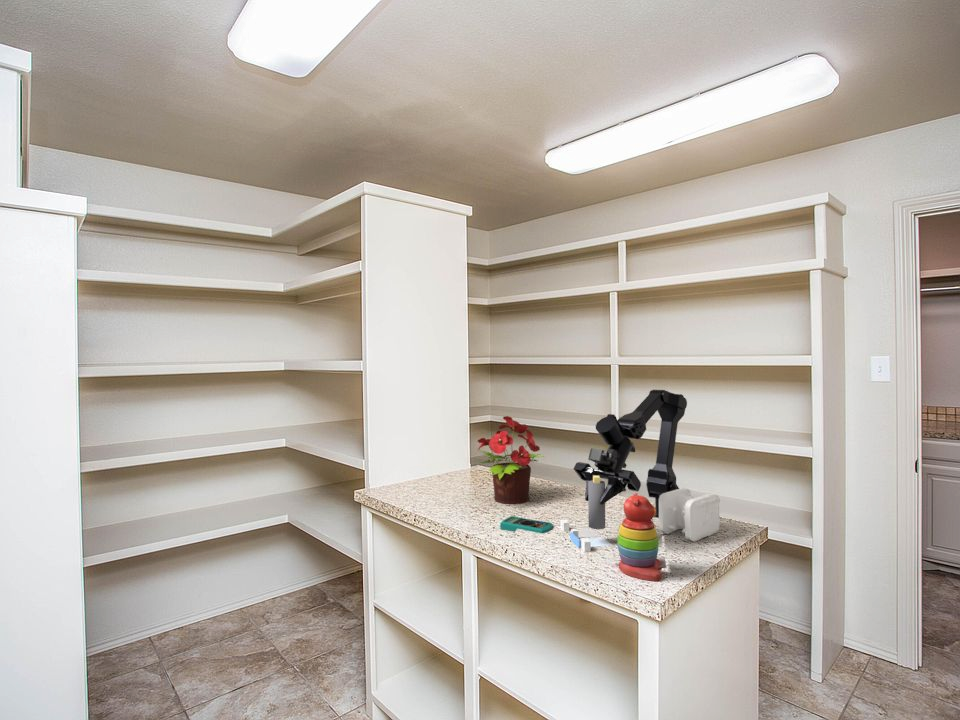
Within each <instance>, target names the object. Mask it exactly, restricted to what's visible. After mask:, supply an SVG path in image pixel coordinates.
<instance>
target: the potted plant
mask: <svg viewBox="0 0 960 720" xmlns="http://www.w3.org/2000/svg"><path fill="white" fill-rule="evenodd" d="M502 419H503V420H504V421H505V424H501V425H500V426H498V429H499V430H497V431H496V432H495V434H494V435H493V436H492V437H491V438H489V439H488V438H485V437H482V438H480V439H477V442H478V443H479V444H480V445H479V446H478V448H477V452H480V449H481V448H482V447H486V446H488V447H489V449H490V451H491V452H487V451H484V450H481V453H483V455H485V456H483V457H484V458H485V457H486V458H487V457H488V459H487V460H485V461H482V462H478V463H475V464H474V466H476V465H479V464H483V465H484V464H487V463H488V464H492V463H493V464H494V463H496V464H494V465H493V466H491V468H489V469H488V472H490V474H492V482H493V493H494V496H493V498H494V499H493V500H494V501H495V502H496V503H499V504H505V505H519V504H524V503H527V502H529V501H530V484H531V472H532V468H531V466H530V465H529V464H530V463H531V462H532V463H534V462H538V461H539V459H535V458H540V457H542V458H547V457H546V456H545V455H544V456H543V455H542V454H541V453H539V454H538V453H537V454H535V453H536V452H538V451H540V450H541V449H540V446H539V445H537V444H536V441H535V440H534V438H533V433H532V431H531V430H529V429H527V428H528V426H527V425H526V424H521V423H519V422H518V421H517V420H514V419H513V417H511V416H508V415H507V416H503V417H502ZM506 428H509V429H510V430H511V431H512V434H514V432H515V433H517V437H519V438H521V439H523V440H525V443H526V446H525V445H520V446H518V450H517V449H514V450H512V451H511V453H510V454H509V452H508V450H507V447H508V446H511V448H513V444H514V436H512V435H511V436H510V435H509V433H508V431H506V430H503V429H506ZM524 433H526V437H525V436H524V435H523V434H524ZM527 447H528V448H529V450H530V451H532V452H535V453H530V452H529V451H528V450H527V449H526V448H527ZM503 453H504V455H501V454H503ZM506 453H507V454H506ZM494 454H497V455H494ZM499 454H500V455H499ZM502 461H504V462H502Z"/></svg>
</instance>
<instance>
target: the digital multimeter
mask: <svg viewBox="0 0 960 720" xmlns="http://www.w3.org/2000/svg"><path fill="white" fill-rule="evenodd" d="M499 527H500V530H503V531H509V532H514V533H515V532H517V530H522V531H529V532H533V533H538V534H545V533H547V532H550V531H551V530H552V529H553V527H554V524H553V523H551V522H549V521H542V520H537V519H530V518H524V517H519V516H515V515H510V516H509V517H507V518H505V519H504V520H501V522H500V523H499Z"/></svg>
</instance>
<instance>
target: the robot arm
mask: <svg viewBox="0 0 960 720" xmlns="http://www.w3.org/2000/svg"><path fill="white" fill-rule="evenodd" d="M687 406H688V401H687V398H686V397H684V395H683V394H682V393H681V394H679V393H673V392H670V391H668V390H666V389H651V390H650V391H649V393H648V395H647V396H646V397H645V398H644V399H643V400H642V401H641V402H640V404H639V405H638V406H637V407H636V408H635V409H634V410H633V411H632V412H630V413H626V414H623V415H622V416H621V417H619V418H618V419H617V416H616V414H612V413H609V414H607V416H606V417H602V418H601V419H599V421H597V422H596V424H595V430H596V431H597V433H598V434H599V436H600V437H601V439H602V441H604V443H605V444H606V445H608V448H607V449H606V450H604V449H600V448H599V449H597V448H590V451H589V455H588V461H591V462H594V467H595V468H597V469H595V468H593V467H592V465H590V463H588V462H580V461H579V462H576V463H575V464H574V467H573V468H572V469H573V470H574V472H575V473H576V474H577V476H578V477H579V478H580V479H581V480H582V481H584V482H585V485H586V486H585V495H584V499H585V501H586V502H588V481H592V480H593V476H599V477H600V479H604V480H607V484H606V486H605V491H604V493H603V495H602V497H601V500H600V504H601V505H603V504H604V503H605V504H607V502H609V501H610V500H611V499H613V498H614V497H616V496H617V495H619V494H621V493H623V492H624V493H625V492H627V489H628V490H629V491H631V492H640V488H641V486H642V483H641V480H640V479H639V478H638V476H637V475H636V473H635V471H634V470H627V469H626V467H628V466H627V464H626V461H627V459H628V457H629V455H630V453H635V452H636V448H635V445H634V442H632V441H631V439H632V440H640V439H641V438H642V437H643V436H644V434H645V432H646V431H647V423H648V421H650V419H652V417H653V416H654V414H656V413H658V415H659V417H660V419H661V422H660V429H659V437H658V443H657V444H658V445H657V452H656V461H655V465H654V466H653V468H649V469H648V471H647V477H646V480H645V481H646V484H645V486H646V490H647V493H648V497H649V498H655V500H654V501H655V503H654V504H655V506H654V507H655V508H656V510H657V511H656V514H655V516H654V517H653V518H658V519H659V497H660V495H661V494H663V493H666V492H670V491H673V490H677V489H680V487H679V486H678V485H677V476H676V474H675V471H674V469H673V463H674V455H675V449H676V448H675V446H676V440H677V439H676V438H677V432H678V424H679V422H680V420H681V419H682V418H683V417H684V415H685V412H686V408H687ZM623 468H624V469H623Z"/></svg>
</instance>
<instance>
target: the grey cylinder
mask: <svg viewBox="0 0 960 720" xmlns="http://www.w3.org/2000/svg"><path fill="white" fill-rule="evenodd" d="M605 489H606V482H605V481H603V480H601V478H600V477H599V476H593V480H592V481H588V501H587V502H588V528H589V529H593V530H604V529H606V503H604V504H603V505H601V504H600V500H601V497H602V495H603V493H604V491H605Z"/></svg>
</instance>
